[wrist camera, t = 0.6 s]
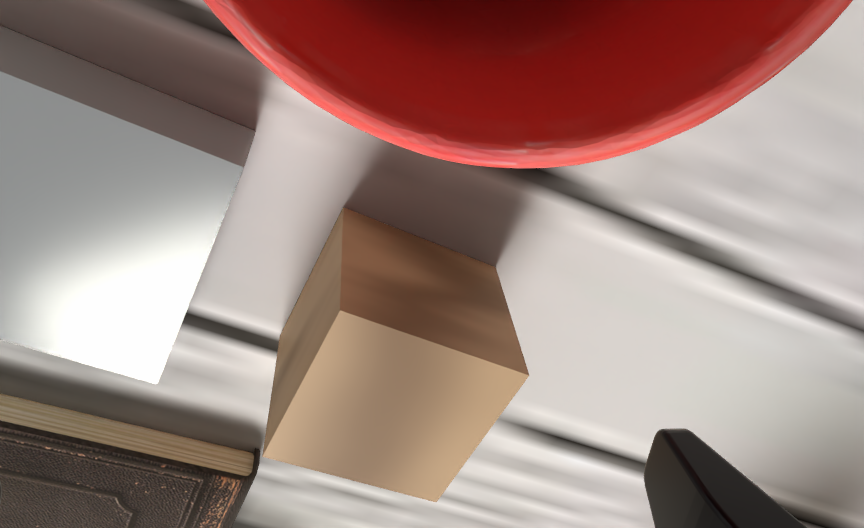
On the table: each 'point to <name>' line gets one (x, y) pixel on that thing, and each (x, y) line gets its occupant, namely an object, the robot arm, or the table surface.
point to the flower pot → (526, 68)
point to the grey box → (104, 208)
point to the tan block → (392, 361)
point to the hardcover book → (112, 473)
